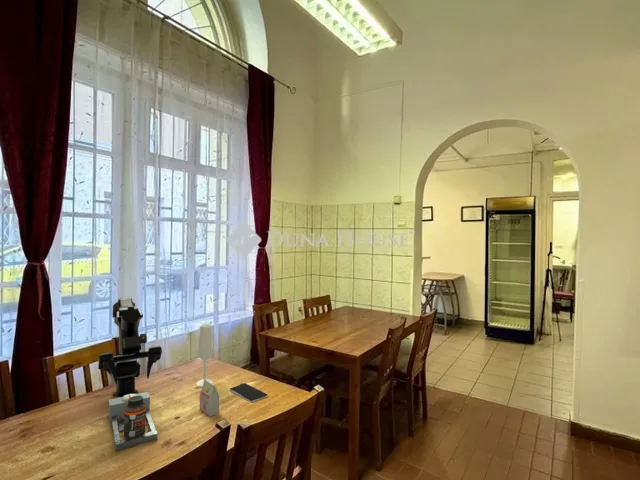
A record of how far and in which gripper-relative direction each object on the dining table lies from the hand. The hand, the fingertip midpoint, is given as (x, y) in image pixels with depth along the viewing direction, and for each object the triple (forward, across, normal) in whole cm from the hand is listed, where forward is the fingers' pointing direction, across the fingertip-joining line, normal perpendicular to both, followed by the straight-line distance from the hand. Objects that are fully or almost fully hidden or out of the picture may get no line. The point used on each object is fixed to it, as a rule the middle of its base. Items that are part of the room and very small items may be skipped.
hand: (132, 380), depth 115 cm
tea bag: (+14, +24, +6) cm, 28 cm away
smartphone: (+9, +41, +11) cm, 43 cm away
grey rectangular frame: (+13, 0, +6) cm, 14 cm away
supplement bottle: (+16, 0, +4) cm, 16 cm away
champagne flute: (-4, +29, +24) cm, 37 cm away
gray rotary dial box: (+4, 0, +15) cm, 16 cm away
